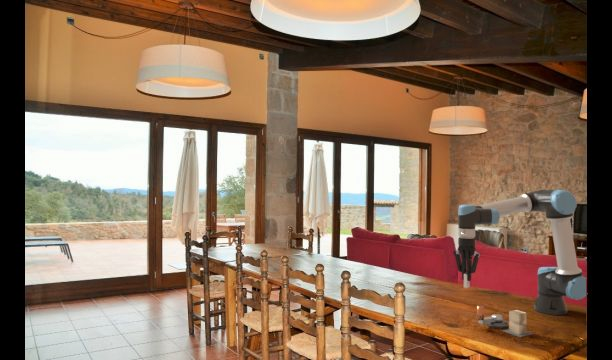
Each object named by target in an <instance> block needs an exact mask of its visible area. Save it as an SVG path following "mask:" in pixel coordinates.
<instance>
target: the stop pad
mask: <svg viewBox="0 0 612 360" xmlns="http://www.w3.org/2000/svg"><path fill="white" fill-rule="evenodd" d="M502 332H504V333H506V334H509V335H512V336H515V337H516V338H517V337H518V338H523V337H526V336H531V335H534V333H533V332H530V331H528V330H526V333H524V334H519V335H518V334H516V333H513V332H510V331H509V328H506V329H502Z"/></svg>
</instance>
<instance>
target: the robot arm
mask: <svg viewBox="0 0 612 360" xmlns="http://www.w3.org/2000/svg"><path fill="white" fill-rule="evenodd" d="M577 205H578V203H577V199H576V197H575V195H574V194H573V193H571V192H570V191H568V190H564V189H545V188H544V189H539V190H533V191H530V192H527V193H523V194H520V195H519V196H518V197H517V196H516V197H513V198H512V197H511V198H508V199H504V200H503V199H502V200H499V201H493V202H489V203H485V204H478V205H474V204H460V205H459V206H458V211H457V212H458V213H457V215H458V221H457V222H458V230H457V231H458V238H457V239H458V241H457V242H458V243H457V245H458V246H457V249H456V250H453V251H452V252H453V255H454V258H455V262H456V266H457V271H458V272H460V273H461V280H462V281H463V288H464V289H468V288H470V282H471V281H472V274H475V273H476V272H477V267H478V263H479V258H480V257H481V255H482V253H479V252H477V249H476V225H477V226H479V225H483V226H484V225H488V226H489V225H491V226H492V225H497V224H498V223H499V221H500V218H501V217H502V216H507V215H511V214H517V213H521V212H524V213H530V212H531V213H532V212H536V213H537V212H538V213H545V217H546V219H547V220H548V221H549V222H550V226H551V234H552V240H553V245H554V250H555V251H554V252H555V257H556V265H557V266H541V267H539V268H537V269H538V270H537V296H536V299H535V302H534V308H533V310H535V311H536V312H538V313H541V314H546V315H551V316H552V315H556V316H563V315H567V313H568V308H567V305H566V302H565V299H564V297H565V298H568V299H571V300H572V299H573V300H576V301H577V300H582V299H584V298H585V297H586V296H587V295H586V279H587V278H586V276H584V275H583V270H582V269H581V268H580V267H579V266H578V260H577V254H576V247H575V242H574V241H575V240H574V236H573V229H572V224H571V223H572V222H571V219H572V218H573V217H574V213H575V211H576V208H577ZM473 256H474V257H473Z"/></svg>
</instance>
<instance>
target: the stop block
mask: <svg viewBox="0 0 612 360" xmlns="http://www.w3.org/2000/svg"><path fill="white" fill-rule="evenodd" d="M508 329H509V331H510V332H513V333H516V334H518V335H519V334H524V333H526V331H527V312H525V311H521V310H518V309H515V310H509V311H508Z"/></svg>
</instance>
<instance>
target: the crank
mask: <svg viewBox="0 0 612 360" xmlns="http://www.w3.org/2000/svg"><path fill="white" fill-rule="evenodd" d="M476 320H477V322H478V324H480V325H487V324H488V323H493V322H503V320H504V316H503V315H502V314H498V313H493V314H491V316H485V306H483V305H477V306H476Z"/></svg>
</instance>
